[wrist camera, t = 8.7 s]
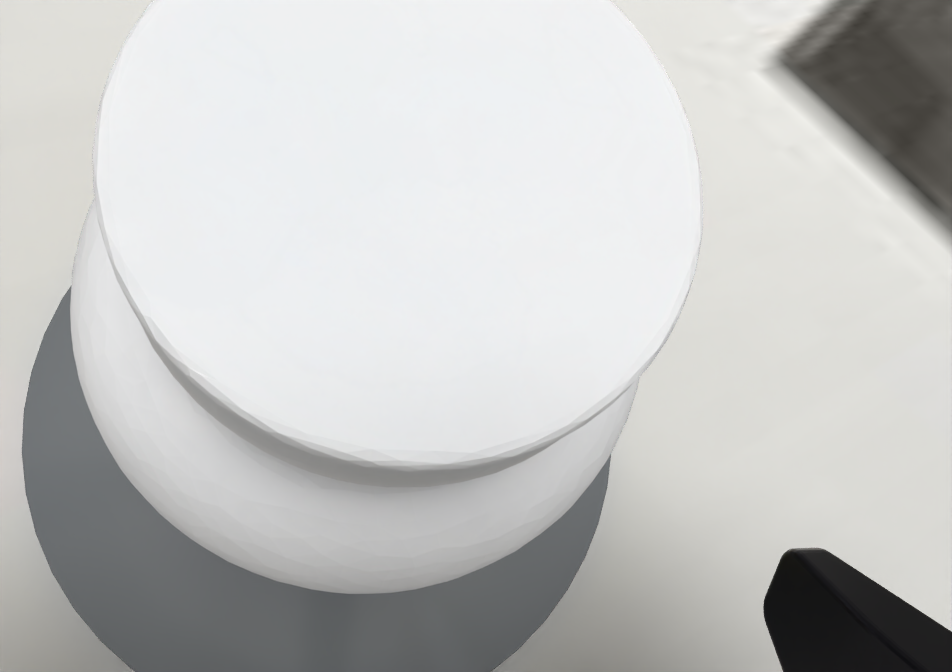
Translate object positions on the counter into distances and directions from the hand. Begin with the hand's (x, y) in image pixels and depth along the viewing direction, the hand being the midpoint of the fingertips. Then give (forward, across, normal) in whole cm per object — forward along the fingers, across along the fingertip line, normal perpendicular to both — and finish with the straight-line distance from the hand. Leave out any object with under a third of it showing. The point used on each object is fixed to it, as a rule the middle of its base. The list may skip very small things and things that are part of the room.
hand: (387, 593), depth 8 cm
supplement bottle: (+9, 0, +4) cm, 10 cm away
